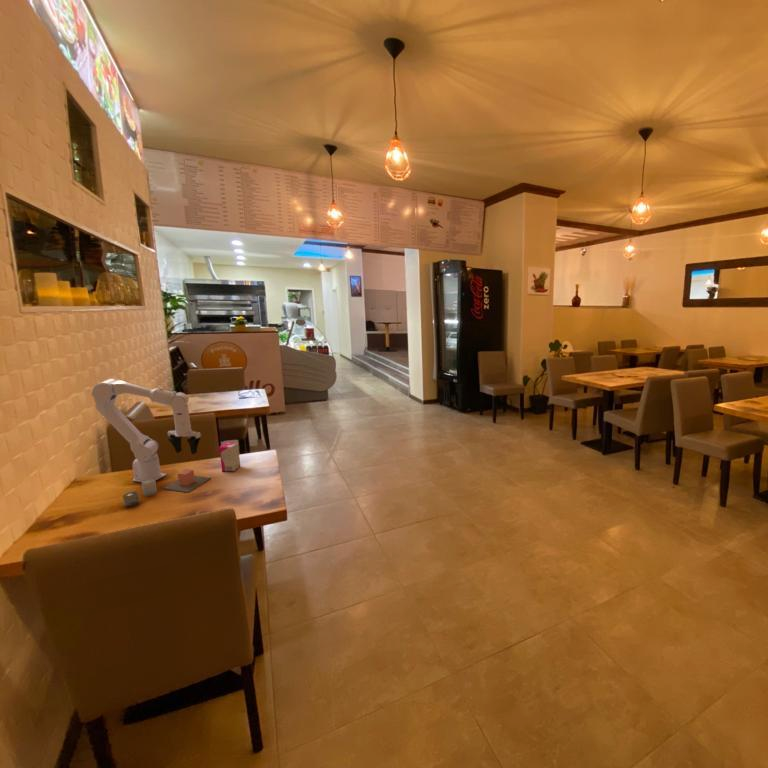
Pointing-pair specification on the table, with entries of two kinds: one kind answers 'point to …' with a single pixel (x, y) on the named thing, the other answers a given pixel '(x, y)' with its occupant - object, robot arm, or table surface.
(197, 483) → the charcoal mat
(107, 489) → the table surface
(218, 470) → the table surface
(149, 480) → the grey domed cylinder
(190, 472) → the red block
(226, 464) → the supplement box
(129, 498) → the metal tin
